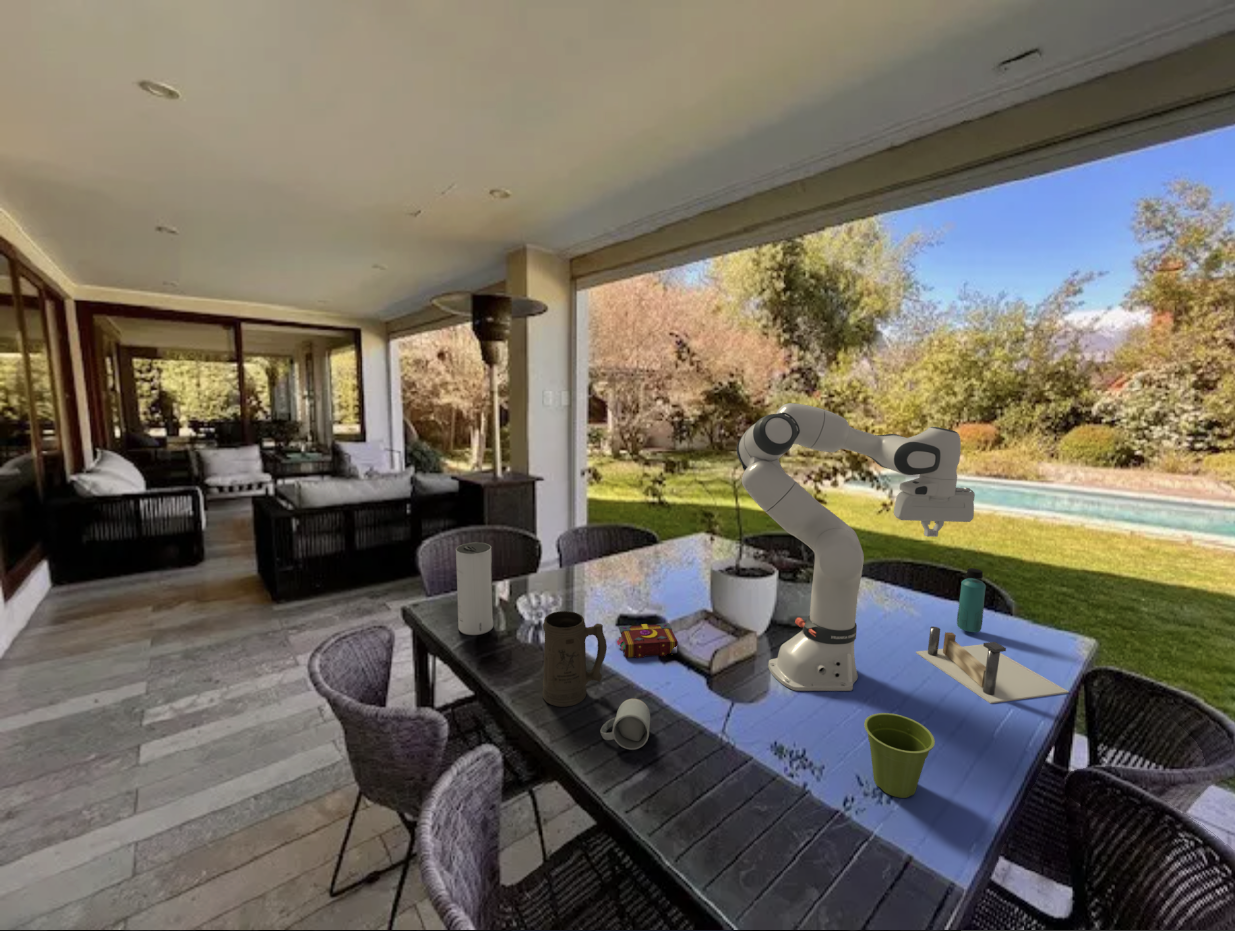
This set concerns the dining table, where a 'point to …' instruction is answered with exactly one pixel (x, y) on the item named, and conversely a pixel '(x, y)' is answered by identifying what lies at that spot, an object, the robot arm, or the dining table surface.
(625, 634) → the decorative book
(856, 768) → the dining table surface
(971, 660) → the gate
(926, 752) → the plant pot
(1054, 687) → the mat
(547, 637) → the beer stein
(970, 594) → the beverage bottle
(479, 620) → the speaker
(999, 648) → the gate post
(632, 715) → the ceramic mug
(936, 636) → the post
